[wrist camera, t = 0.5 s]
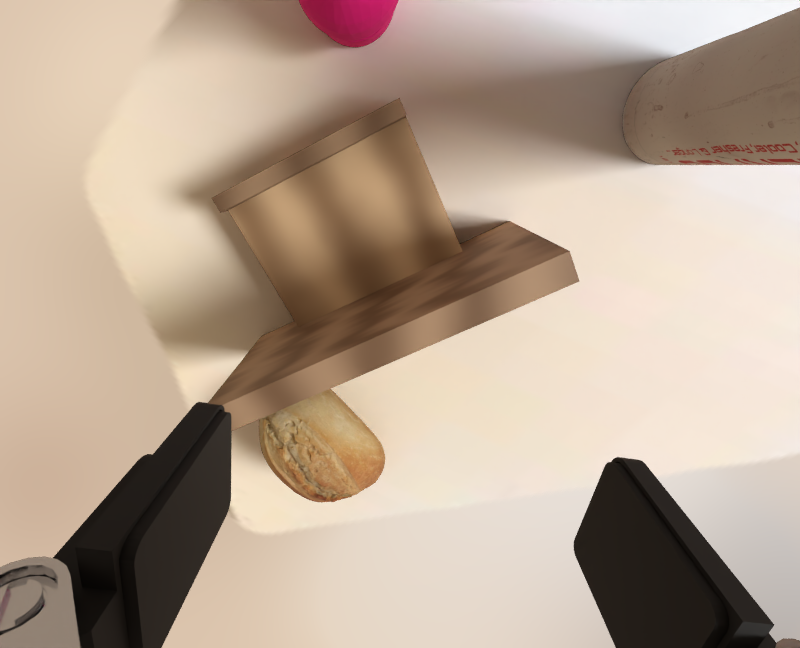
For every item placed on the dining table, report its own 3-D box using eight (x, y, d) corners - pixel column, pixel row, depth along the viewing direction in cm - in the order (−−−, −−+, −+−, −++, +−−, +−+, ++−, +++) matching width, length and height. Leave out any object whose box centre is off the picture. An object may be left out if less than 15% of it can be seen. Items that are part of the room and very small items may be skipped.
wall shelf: (455, 76, 33) (493, 19, 20) (517, 241, 38) (579, 281, 25) (186, 219, 37) (71, 248, 24) (271, 353, 42) (214, 438, 29)
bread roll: (344, 486, 48) (335, 545, 41) (244, 403, 44) (212, 451, 37) (406, 438, 46) (408, 492, 38) (306, 346, 42) (286, 386, 34)
